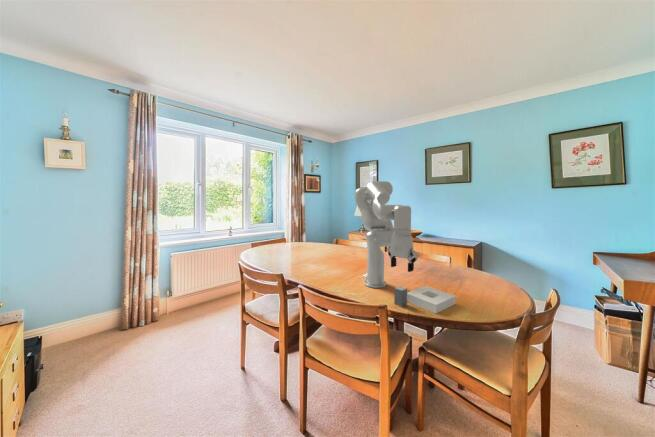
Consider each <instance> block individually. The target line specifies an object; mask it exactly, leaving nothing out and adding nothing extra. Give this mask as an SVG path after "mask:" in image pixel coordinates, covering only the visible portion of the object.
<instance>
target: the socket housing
mask: <svg viewBox="0 0 655 437" xmlns="http://www.w3.org/2000/svg"><path fill="white" fill-rule="evenodd" d="M407 303H409V304H412V305H415V306H416V307H419V308H422V309H423V310H426V311H429V312H431V313H433V314H439V313H440V312H443V311H444V310H447V309H448V308H450V307H452V306H454V305H456V295H454V294H451V293H447V292H444V291H442V290H439V289H436V288H433V287H431V286H430V287H429V286H427V285H425V286H422V287H419V288H418V287H417V289H416V288H415V289H413V290H411V291H407Z"/></svg>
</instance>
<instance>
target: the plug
mask: <svg viewBox="0 0 655 437" xmlns="http://www.w3.org/2000/svg"><path fill="white" fill-rule="evenodd" d="M407 292H408V288H406V287H405V286H401V285H398V286H396V287H394V305H396V306H398V307H400V308H402V307H406V306H407V304H408V302H407Z"/></svg>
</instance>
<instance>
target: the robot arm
mask: <svg viewBox="0 0 655 437" xmlns="http://www.w3.org/2000/svg"><path fill="white" fill-rule="evenodd" d="M393 190H394V188H393V184H392V183H391V182H389V181H385V180H383V181H381V180H379V181H378V180H377V181H376V180H374V181H370V182H369V183H368V184H367V186H363V187H359V188H357V189H356V190H355V192H354V199H355V204H356V206H357V207H358V209H359V211H360V213H361V218H362V221H363V225H364V227H365V230H367V231H369V232H366V234H365V242H366V250H367V266H366V267H367V272H366V273H365V274H363V278H365V281H364V285H365V286H367V287H368V288H372V289H373V288H374V289H381V288H385V287H386V286H387V281H386V280H385V253H384V251H383V250H382V249H381V248H383V247H386V251H387V253H388V256H389V259H390V267H391V268H394V267H397V258H401V259H404V260H405V259H406V260H407V261H408V263H407V272H408V273H412V272H413V271H414V270H415V268H414V266H415V263H416V261H417V260H418V258H419V256H420V254H419V253H418V252H417V251H415V249H414V241H413V240H414V239H413V236H412V208H411V206H409V205H402V204H388V203H389V201H390V199H391V195H392V193H393ZM370 202H372V204H371V203H370ZM392 221H393V222H392Z"/></svg>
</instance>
